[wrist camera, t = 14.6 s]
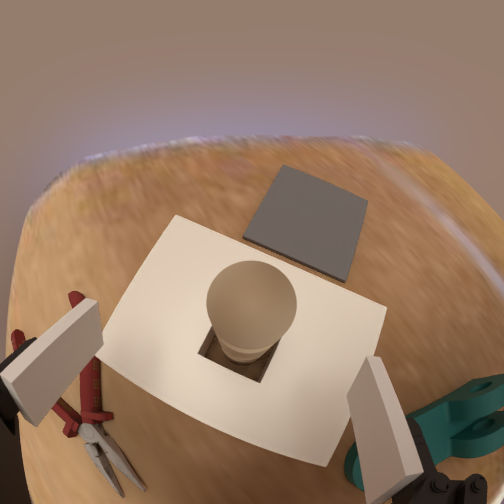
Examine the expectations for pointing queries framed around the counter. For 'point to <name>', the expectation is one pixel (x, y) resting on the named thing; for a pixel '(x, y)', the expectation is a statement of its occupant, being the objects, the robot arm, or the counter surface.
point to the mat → (309, 222)
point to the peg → (250, 309)
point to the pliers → (90, 416)
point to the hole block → (224, 380)
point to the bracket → (454, 424)
